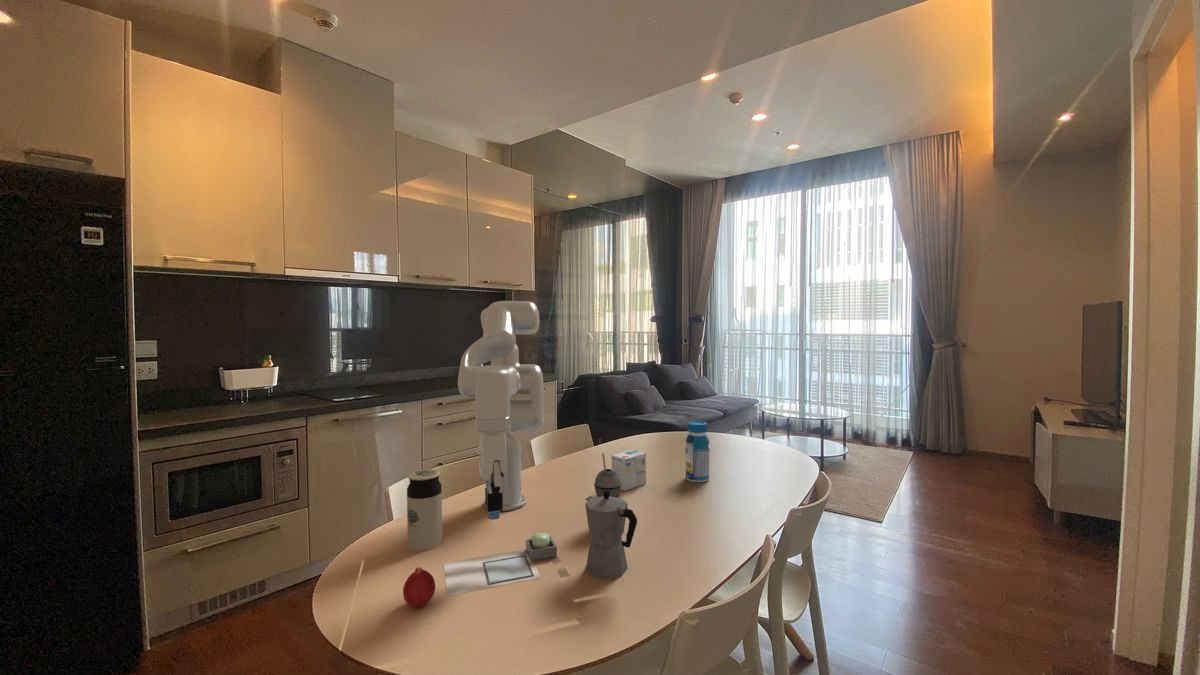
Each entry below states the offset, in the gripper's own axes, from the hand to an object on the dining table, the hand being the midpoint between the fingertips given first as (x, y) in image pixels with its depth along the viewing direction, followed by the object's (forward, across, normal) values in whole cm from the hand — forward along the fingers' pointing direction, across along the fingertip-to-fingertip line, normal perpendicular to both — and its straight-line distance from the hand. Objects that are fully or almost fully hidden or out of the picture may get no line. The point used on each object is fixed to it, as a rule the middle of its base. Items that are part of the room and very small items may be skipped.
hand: (493, 507), depth 104 cm
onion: (+14, +9, -15) cm, 23 cm away
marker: (+2, 0, 0) cm, 2 cm away
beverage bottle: (+13, -38, +76) cm, 86 cm away
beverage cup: (+14, -12, +32) cm, 37 cm away
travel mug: (+14, -18, -14) cm, 27 cm away
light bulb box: (+14, -41, +51) cm, 67 cm away
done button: (+12, -3, +11) cm, 16 cm away
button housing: (+13, -3, +11) cm, 18 cm away
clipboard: (+14, +1, +2) cm, 14 cm away
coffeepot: (+14, +10, +24) cm, 29 cm away
